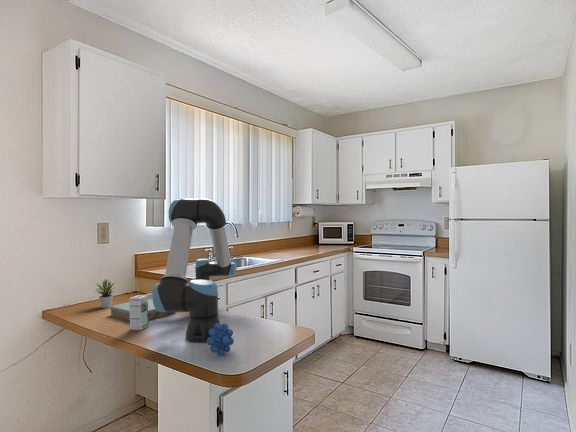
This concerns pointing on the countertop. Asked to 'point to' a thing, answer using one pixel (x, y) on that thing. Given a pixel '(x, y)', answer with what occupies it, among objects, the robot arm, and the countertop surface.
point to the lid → (126, 308)
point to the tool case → (127, 316)
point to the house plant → (105, 294)
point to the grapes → (220, 338)
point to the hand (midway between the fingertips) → (153, 299)
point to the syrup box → (138, 312)
